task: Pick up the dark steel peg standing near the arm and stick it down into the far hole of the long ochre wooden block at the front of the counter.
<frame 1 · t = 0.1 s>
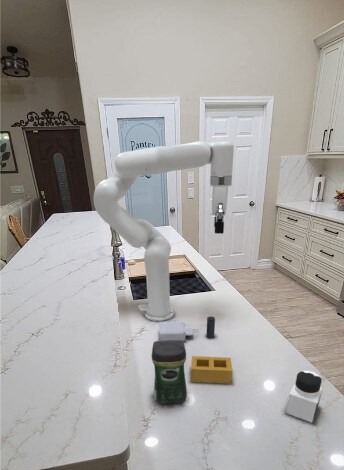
hand: (218, 230, 124), 37 cm above the worktop, tool pointing down, fingers open, 9 cm apart
medicine bottle: (301, 410, 91), on the worktop
ochre block: (210, 375, 105), on the worktop
coffee jar: (170, 396, 97), on the worktop
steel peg: (210, 336, 126), on the worktop
charger: (179, 337, 127), on the worktop
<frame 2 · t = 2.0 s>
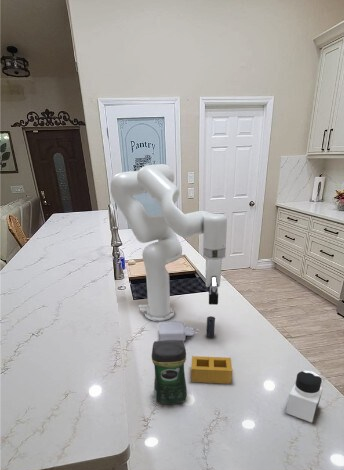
hand: (213, 298, 119), 16 cm above the worktop, tool pointing down, fingers open, 9 cm apart
nothing on the worktop moved.
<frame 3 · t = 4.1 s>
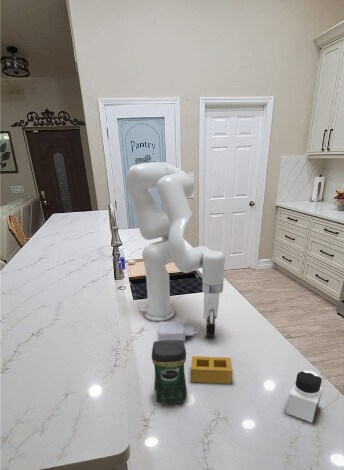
hand: (210, 330, 125), 3 cm above the worktop, tool pointing down, fingers closed on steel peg, 3 cm apart
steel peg: (210, 336, 126), on the worktop, touching gripper
everything else where it was.
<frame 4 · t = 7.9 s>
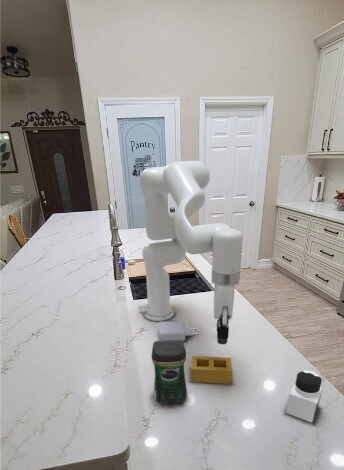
hand: (222, 334, 97), 16 cm above the worktop, tool pointing down, fingers closed on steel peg, 3 cm apart
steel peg: (222, 341, 98), point 13 cm above the worktop, touching gripper
everything else where it was.
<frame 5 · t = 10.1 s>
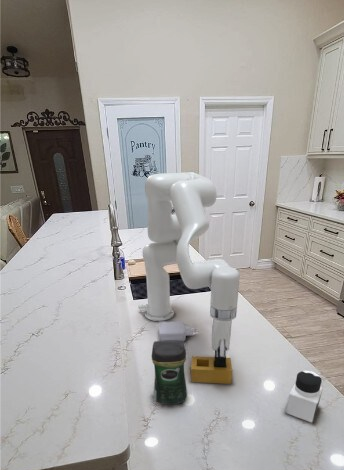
hand: (219, 362, 102), 5 cm above the worktop, tool pointing down, fingers closed on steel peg, 3 cm apart
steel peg: (219, 369, 104), point 3 cm above the worktop, touching gripper
everything else where it was.
when the fingers open (5 cm above the worktop, at t = 11.8 s): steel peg drops 3 cm, resting in ochre block.
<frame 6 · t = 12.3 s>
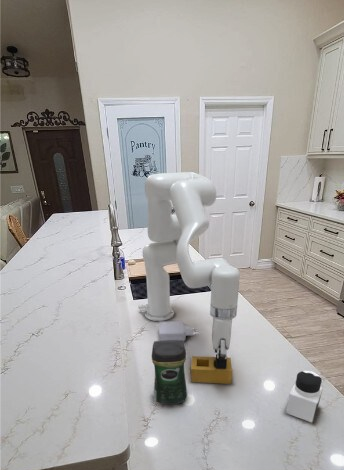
hand: (220, 359, 102), 6 cm above the worktop, tool pointing down, fingers open, 7 cm apart
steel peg: (219, 376, 105), resting in ochre block
everything else where it was.
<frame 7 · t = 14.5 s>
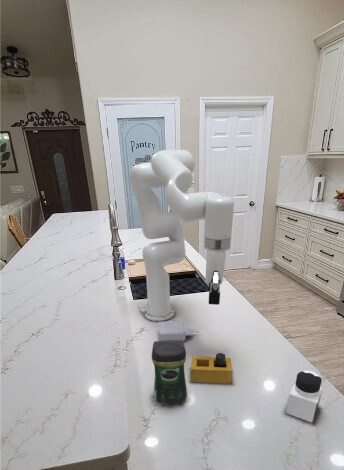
hand: (213, 296, 102), 24 cm above the worktop, tool pointing down, fingers open, 9 cm apart
nothing on the worktop moved.
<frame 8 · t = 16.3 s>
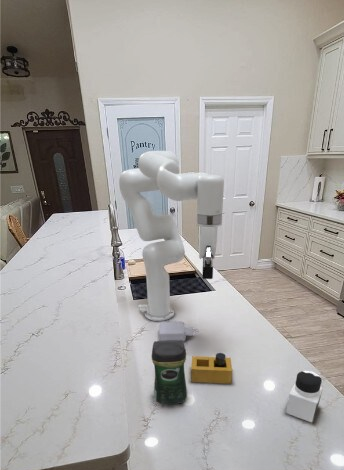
hand: (207, 273, 107), 28 cm above the worktop, tool pointing down, fingers open, 9 cm apart
nothing on the worktop moved.
at the end: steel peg 0.1 cm from the target spot in the ochre block, point 0.0 cm above the ochre block's base; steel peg tilted 0° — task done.
